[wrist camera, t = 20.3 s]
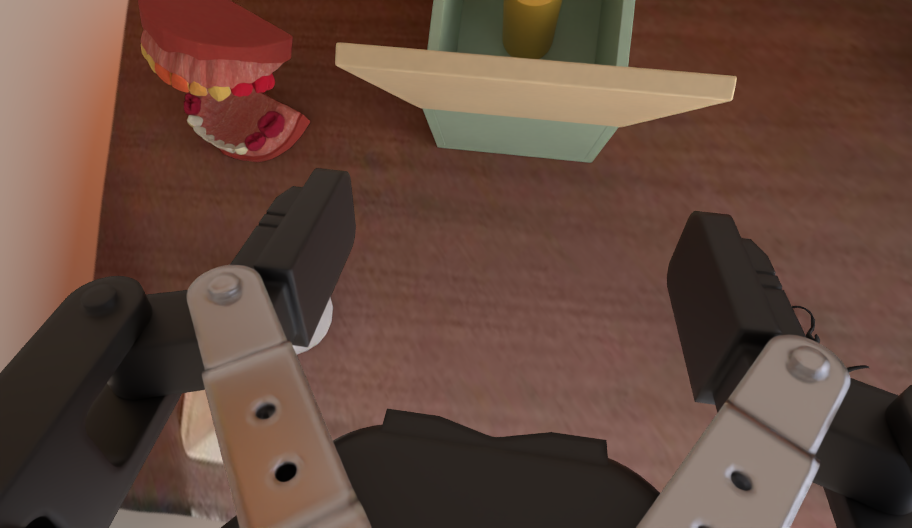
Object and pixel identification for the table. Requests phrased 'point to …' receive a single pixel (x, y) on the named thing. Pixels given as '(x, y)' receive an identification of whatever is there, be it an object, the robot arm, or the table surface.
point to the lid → (532, 85)
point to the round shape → (529, 27)
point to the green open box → (575, 40)
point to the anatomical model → (223, 73)
